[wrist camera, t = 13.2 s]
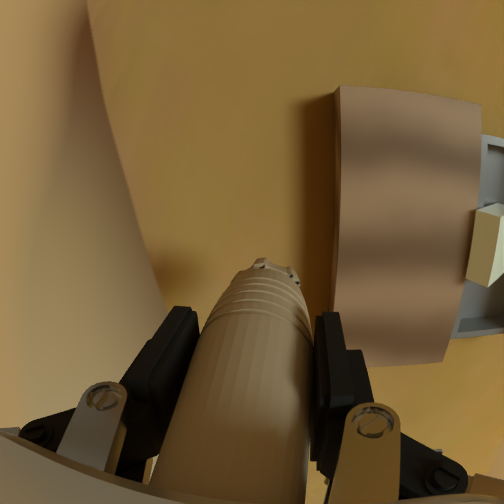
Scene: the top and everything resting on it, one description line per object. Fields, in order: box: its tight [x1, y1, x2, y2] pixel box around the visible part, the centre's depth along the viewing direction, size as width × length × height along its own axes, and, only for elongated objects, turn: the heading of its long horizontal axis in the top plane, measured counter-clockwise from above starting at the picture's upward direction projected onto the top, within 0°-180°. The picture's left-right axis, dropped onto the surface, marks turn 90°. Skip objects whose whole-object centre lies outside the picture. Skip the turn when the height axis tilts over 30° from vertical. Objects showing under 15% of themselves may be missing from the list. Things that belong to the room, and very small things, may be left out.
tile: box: [466, 203, 504, 288], centre depth 19 cm, size 5×5×2 cm
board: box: [329, 85, 482, 367], centre depth 21 cm, size 20×10×3 cm, turn 2°
